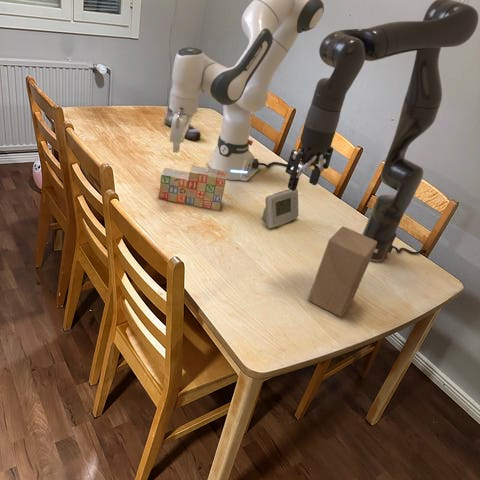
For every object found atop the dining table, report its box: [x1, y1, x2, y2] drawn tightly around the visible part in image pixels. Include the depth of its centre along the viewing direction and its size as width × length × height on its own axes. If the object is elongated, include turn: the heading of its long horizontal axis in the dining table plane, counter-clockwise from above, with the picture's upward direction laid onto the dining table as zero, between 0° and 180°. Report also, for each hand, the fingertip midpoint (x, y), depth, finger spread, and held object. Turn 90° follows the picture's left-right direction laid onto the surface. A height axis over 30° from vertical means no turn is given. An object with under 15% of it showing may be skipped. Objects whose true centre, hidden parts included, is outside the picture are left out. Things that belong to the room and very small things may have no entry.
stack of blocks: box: [158, 164, 227, 212], centre depth 150 cm, size 21×6×12 cm, turn 87°
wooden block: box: [307, 226, 377, 318], centre depth 116 cm, size 10×10×20 cm
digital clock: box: [261, 188, 299, 229], centre depth 151 cm, size 16×9×11 cm, turn 123°
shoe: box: [163, 99, 202, 142], centre depth 205 cm, size 25×11×12 cm, turn 30°
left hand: (178, 146), depth 143 cm, fingers open, 8 cm apart
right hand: (302, 186), depth 113 cm, fingers open, 8 cm apart
